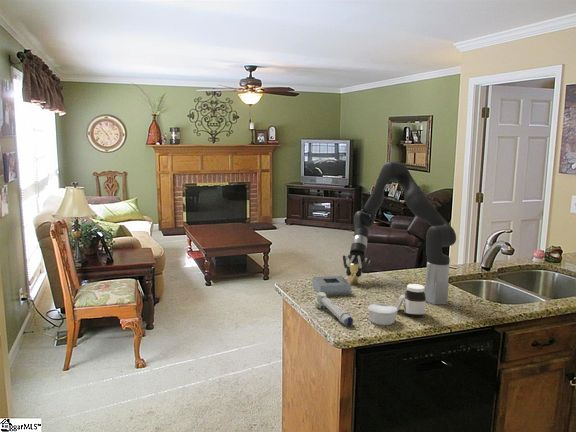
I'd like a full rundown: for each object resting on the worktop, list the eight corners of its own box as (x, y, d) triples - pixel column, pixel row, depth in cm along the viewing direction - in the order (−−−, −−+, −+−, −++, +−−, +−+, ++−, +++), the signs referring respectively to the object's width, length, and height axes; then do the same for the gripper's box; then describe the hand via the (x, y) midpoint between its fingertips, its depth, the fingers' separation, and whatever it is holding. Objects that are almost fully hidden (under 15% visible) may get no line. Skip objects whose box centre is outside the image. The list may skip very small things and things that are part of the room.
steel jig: (350, 294, 216) (350, 284, 215) (320, 295, 213) (320, 285, 212) (341, 284, 229) (341, 275, 228) (312, 286, 226) (312, 276, 226)
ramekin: (394, 316, 190) (395, 303, 189) (398, 327, 179) (399, 314, 178) (366, 315, 191) (366, 302, 190) (368, 325, 180) (368, 312, 179)
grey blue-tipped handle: (343, 317, 177) (313, 289, 199) (341, 333, 179) (311, 303, 201) (355, 315, 179) (324, 287, 201) (353, 331, 181) (322, 302, 203)
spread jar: (426, 319, 188) (428, 290, 186) (397, 318, 188) (399, 289, 186) (419, 308, 199) (421, 281, 197) (392, 307, 200) (393, 280, 198)
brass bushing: (359, 284, 231) (360, 264, 229) (350, 284, 230) (351, 265, 228) (356, 281, 235) (357, 262, 233) (347, 281, 234) (348, 262, 233)
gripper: (343, 240, 239) (337, 270, 229) (372, 243, 234) (367, 273, 225) (345, 248, 244) (339, 278, 235) (373, 251, 240) (368, 281, 231)
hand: (353, 275), depth 230 cm, fingers closed on brass bushing, 4 cm apart
